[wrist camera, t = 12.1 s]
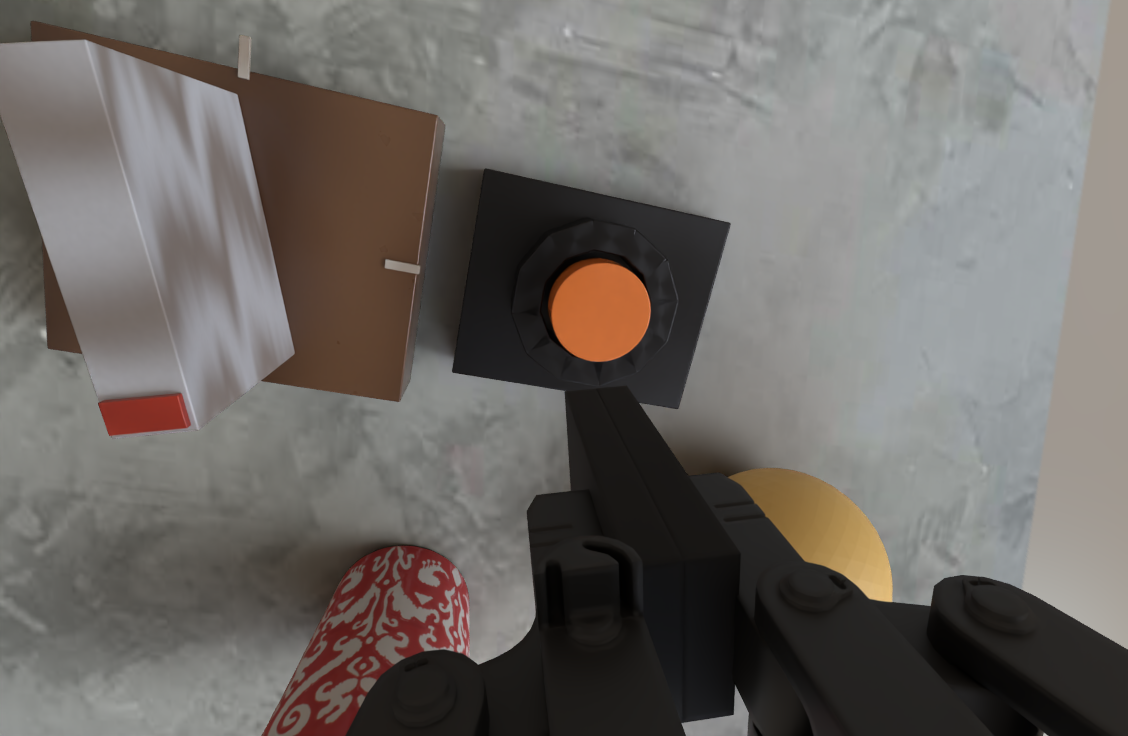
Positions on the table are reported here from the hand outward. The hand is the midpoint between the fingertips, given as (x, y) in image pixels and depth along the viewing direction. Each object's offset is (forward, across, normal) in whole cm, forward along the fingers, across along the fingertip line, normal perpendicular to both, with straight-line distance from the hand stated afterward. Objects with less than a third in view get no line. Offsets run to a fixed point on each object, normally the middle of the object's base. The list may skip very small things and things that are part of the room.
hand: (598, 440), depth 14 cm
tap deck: (+15, -12, +5) cm, 20 cm away
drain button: (+11, +2, +1) cm, 11 cm away
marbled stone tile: (+12, -12, +5) cm, 18 cm away
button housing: (+15, +2, +1) cm, 15 cm away
